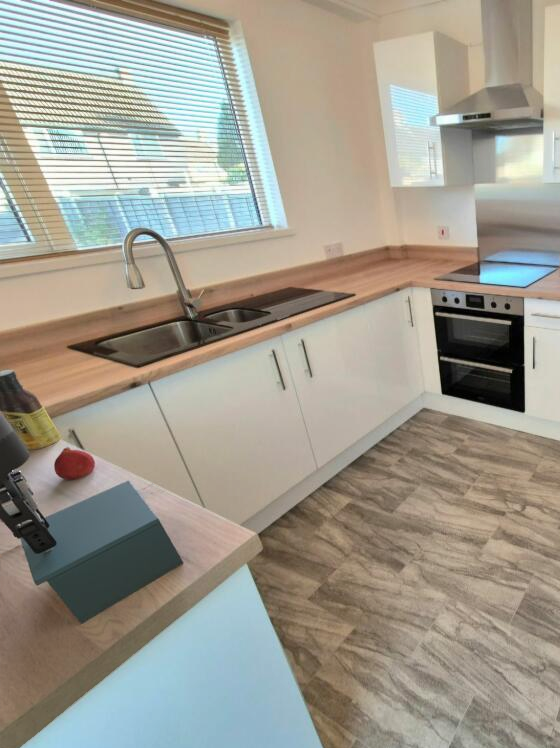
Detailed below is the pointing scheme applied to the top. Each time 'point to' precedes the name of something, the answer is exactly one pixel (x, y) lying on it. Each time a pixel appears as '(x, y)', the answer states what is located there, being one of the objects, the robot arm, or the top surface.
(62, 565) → the lid
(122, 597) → the chest
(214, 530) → the top surface
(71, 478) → the onion
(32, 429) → the sauce bottle
